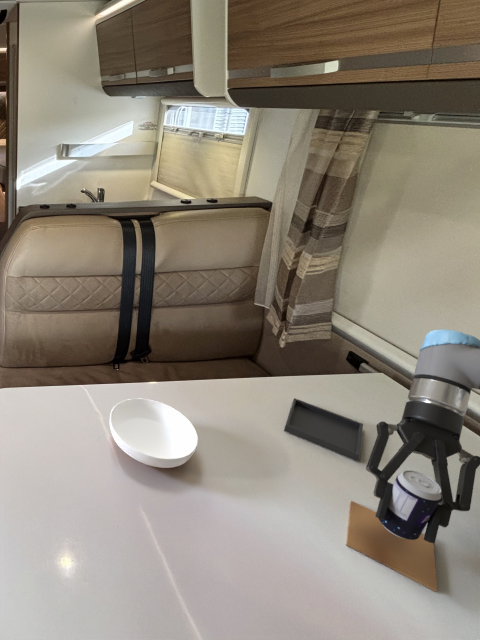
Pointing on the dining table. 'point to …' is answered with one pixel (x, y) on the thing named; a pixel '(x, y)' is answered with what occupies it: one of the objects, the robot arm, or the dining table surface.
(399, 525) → the beverage can
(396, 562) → the trivet
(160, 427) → the bowl
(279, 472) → the dining table surface
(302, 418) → the tray
